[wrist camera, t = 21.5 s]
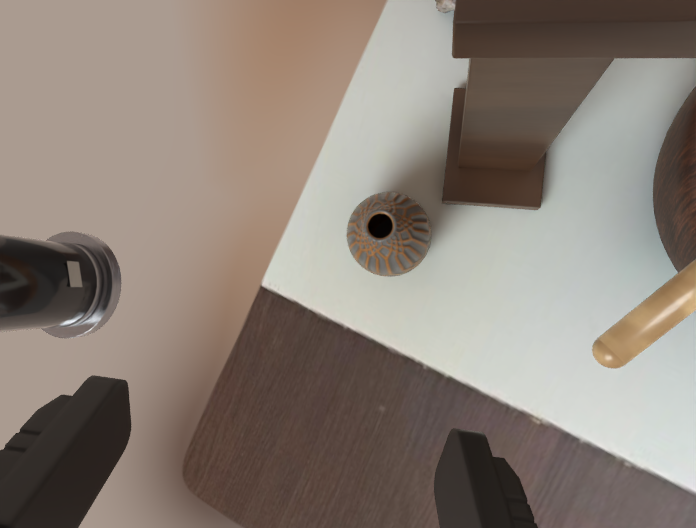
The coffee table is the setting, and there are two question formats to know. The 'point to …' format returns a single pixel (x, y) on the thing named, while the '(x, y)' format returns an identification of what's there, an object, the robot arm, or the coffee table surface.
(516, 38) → the stand
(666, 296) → the wooden mallet
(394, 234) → the vase
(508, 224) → the coffee table surface
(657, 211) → the wooden bowl
